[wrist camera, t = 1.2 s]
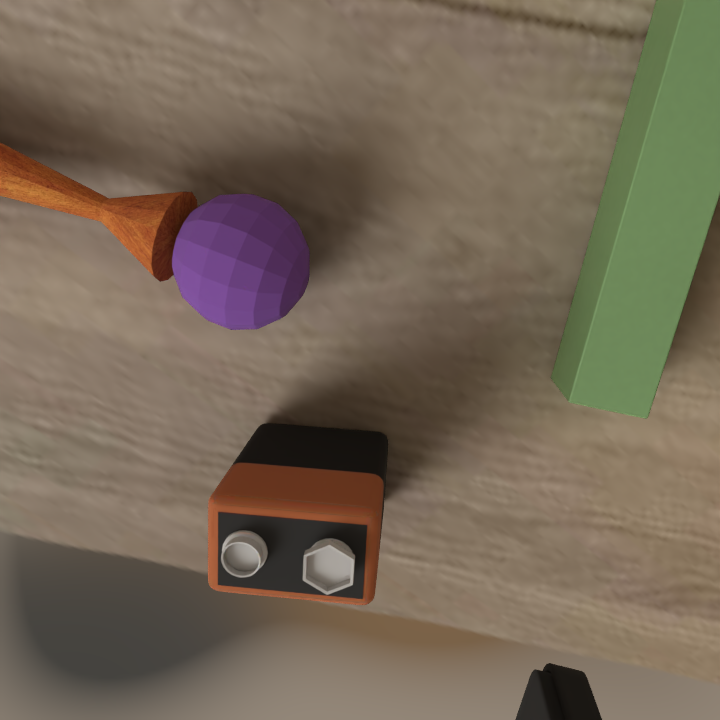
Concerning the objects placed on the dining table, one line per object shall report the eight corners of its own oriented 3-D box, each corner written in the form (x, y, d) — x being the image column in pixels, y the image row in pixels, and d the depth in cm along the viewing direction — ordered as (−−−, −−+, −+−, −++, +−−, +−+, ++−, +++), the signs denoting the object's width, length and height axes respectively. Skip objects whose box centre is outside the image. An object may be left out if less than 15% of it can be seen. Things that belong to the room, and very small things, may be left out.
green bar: (661, -20, 28) (700, -54, 24) (743, -5, 28) (795, -37, 24) (550, 378, 33) (568, 402, 29) (620, 393, 33) (648, 419, 29)
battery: (384, 508, 35) (372, 625, 25) (257, 496, 36) (198, 608, 26) (389, 430, 34) (379, 521, 24) (258, 419, 35) (197, 505, 25)
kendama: (-127, 44, 28) (317, 209, 26) (-31, 95, 34) (336, 232, 32) (-170, 180, 28) (265, 350, 27) (-68, 207, 34) (293, 347, 33)
